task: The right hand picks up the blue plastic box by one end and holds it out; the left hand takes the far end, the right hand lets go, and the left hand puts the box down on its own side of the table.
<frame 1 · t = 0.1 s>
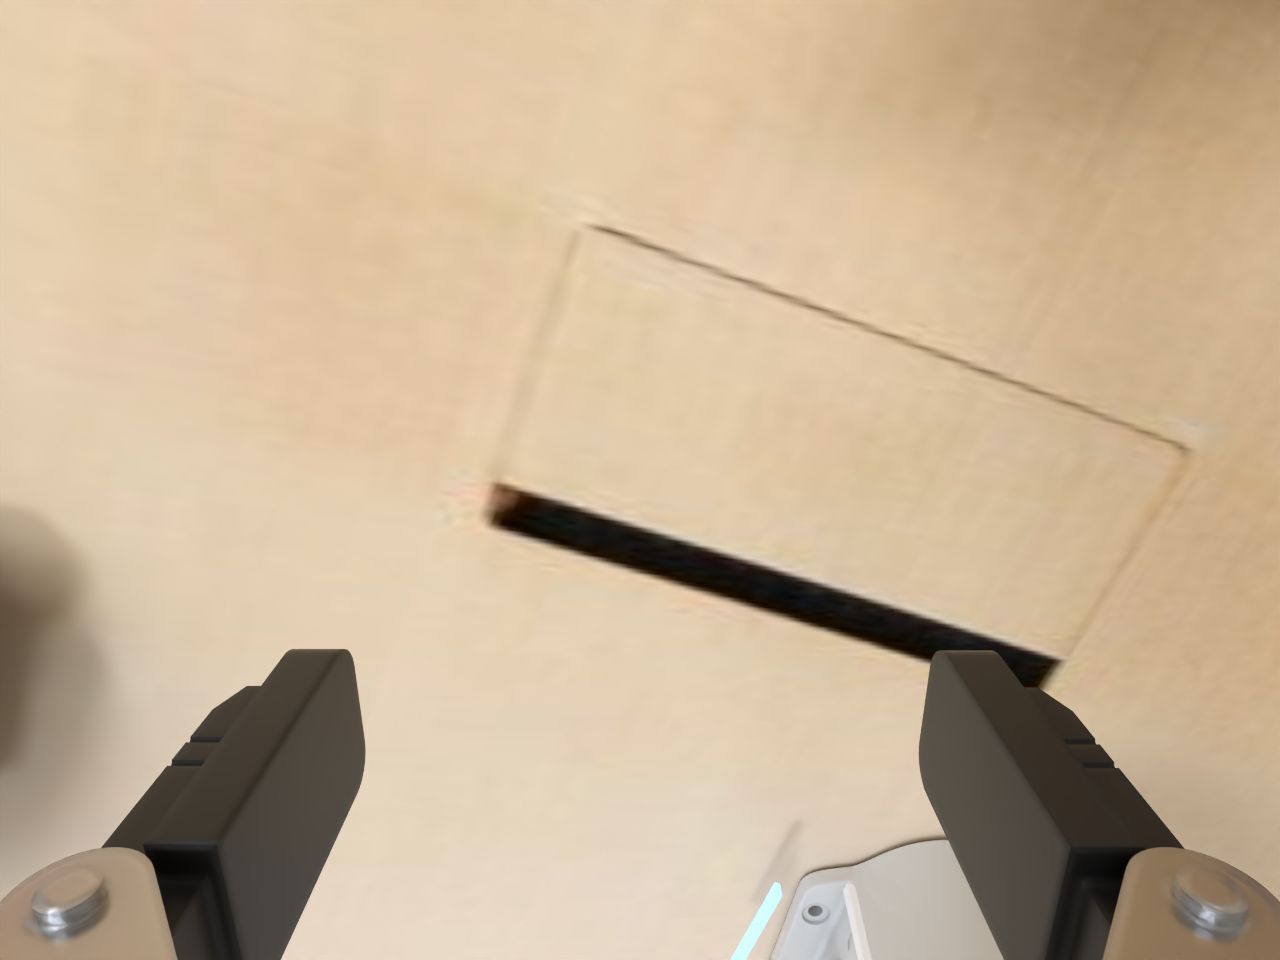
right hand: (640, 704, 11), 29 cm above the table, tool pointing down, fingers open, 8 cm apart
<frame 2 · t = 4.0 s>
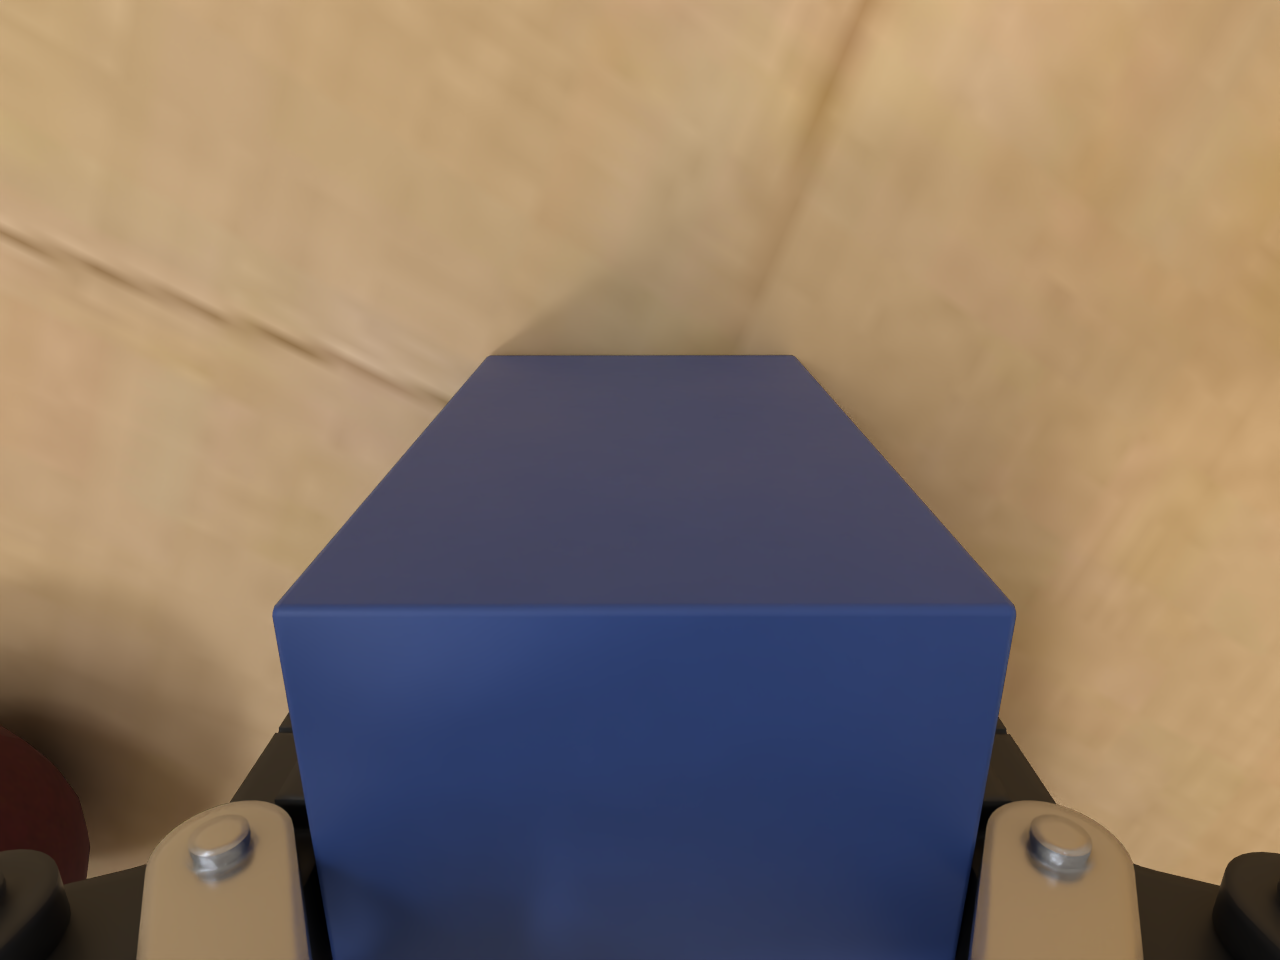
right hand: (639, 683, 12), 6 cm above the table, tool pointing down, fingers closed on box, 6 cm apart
box: (641, 842, 20), on the table, touching right hand
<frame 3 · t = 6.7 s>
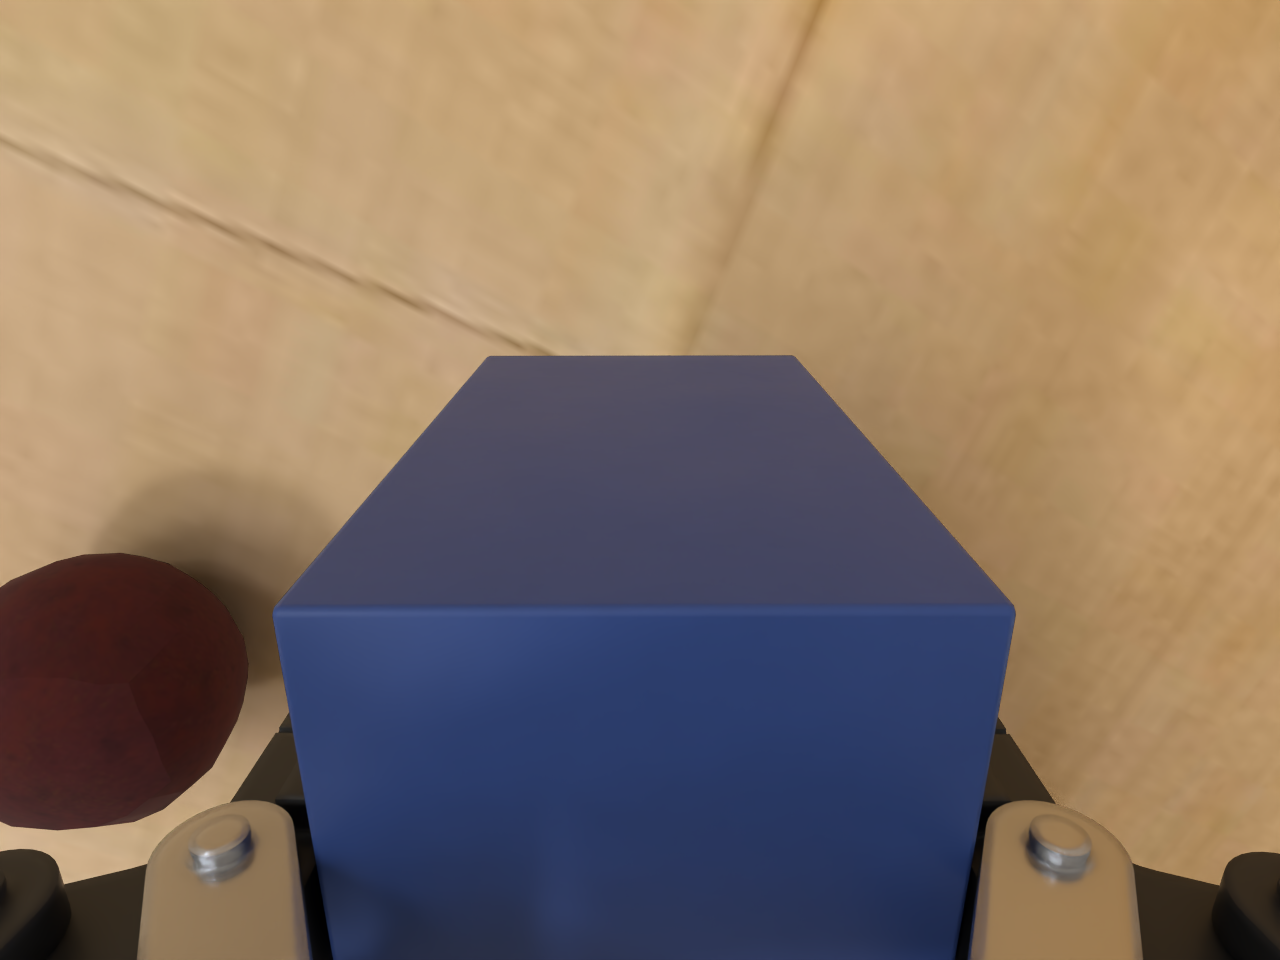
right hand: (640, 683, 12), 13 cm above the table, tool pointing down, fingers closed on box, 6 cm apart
dark red ball: (166, 621, 26), on the table
box: (641, 842, 20), point 7 cm above the table, touching right hand
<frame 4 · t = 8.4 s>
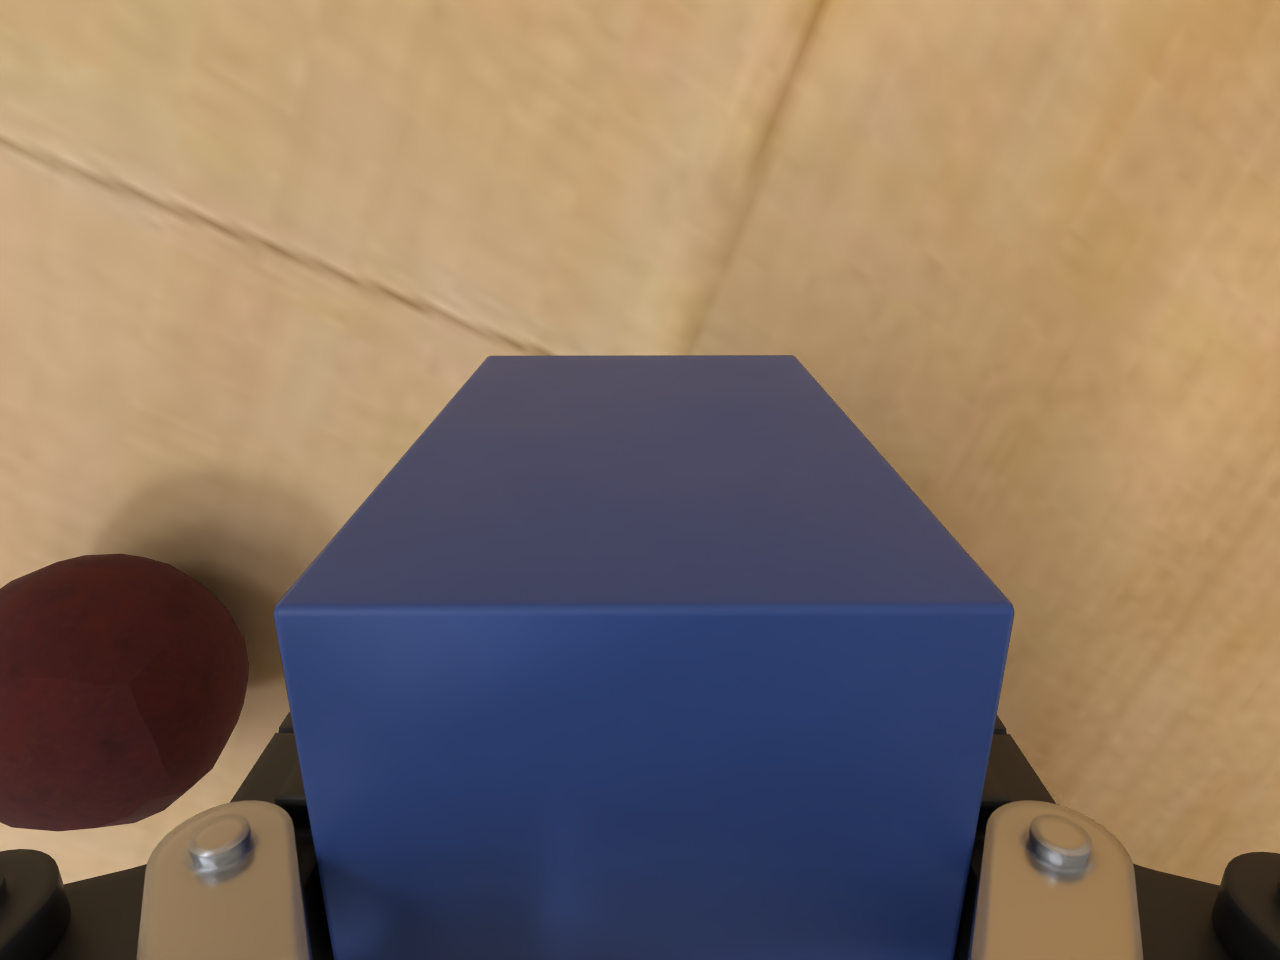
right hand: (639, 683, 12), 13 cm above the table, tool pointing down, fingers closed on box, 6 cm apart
dark red ball: (166, 622, 26), on the table
box: (641, 841, 20), point 7 cm above the table, touching right hand, left hand
when the right hand's fingers open (13 cm above the table, at t = 9.6 s): box moves 1 cm, held by the left hand.
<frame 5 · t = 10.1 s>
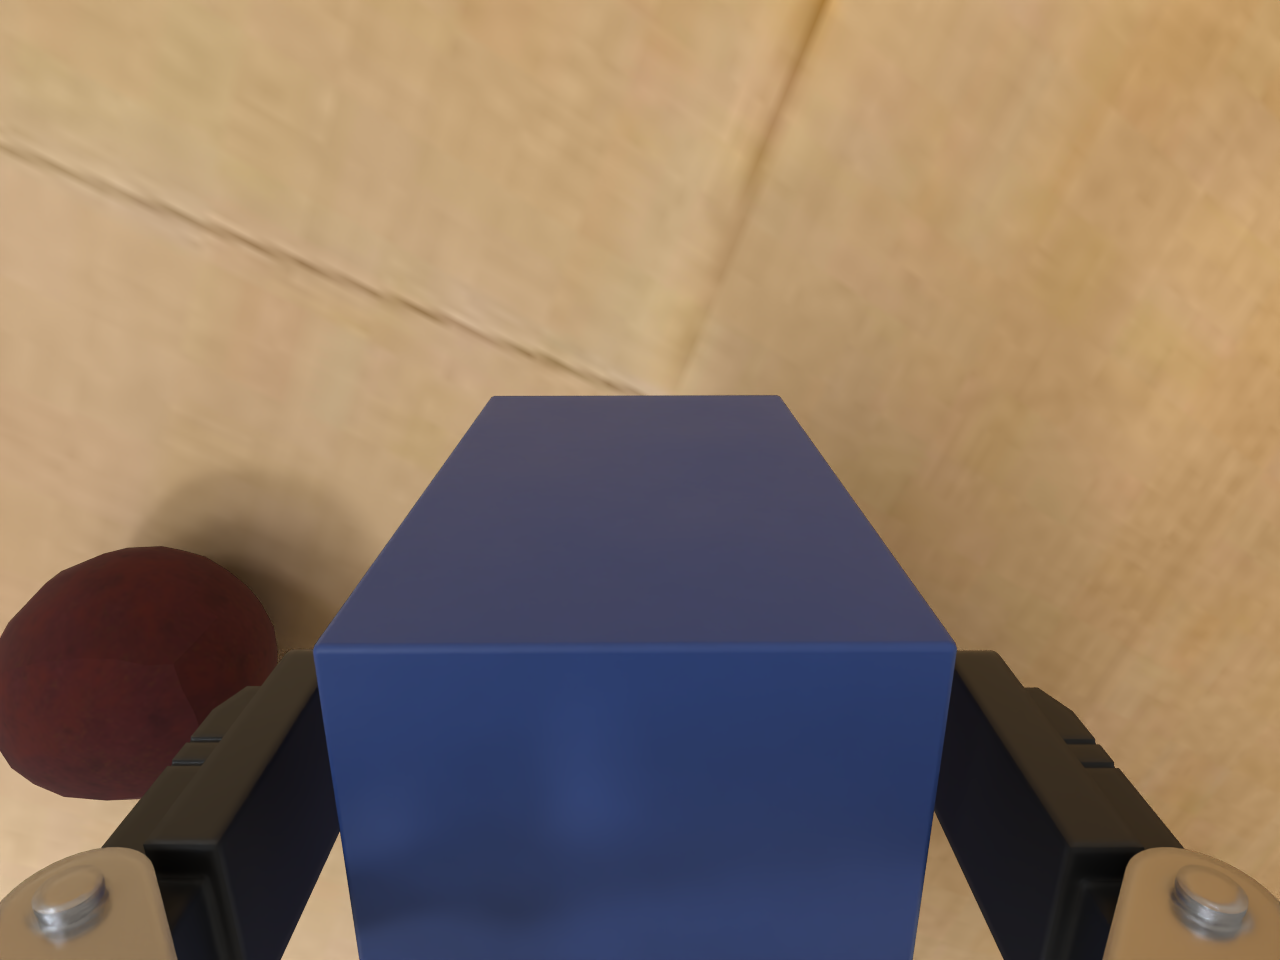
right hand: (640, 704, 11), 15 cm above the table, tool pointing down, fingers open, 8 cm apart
dark red ball: (199, 611, 28), on the table
box: (637, 855, 21), point 9 cm above the table, touching left hand
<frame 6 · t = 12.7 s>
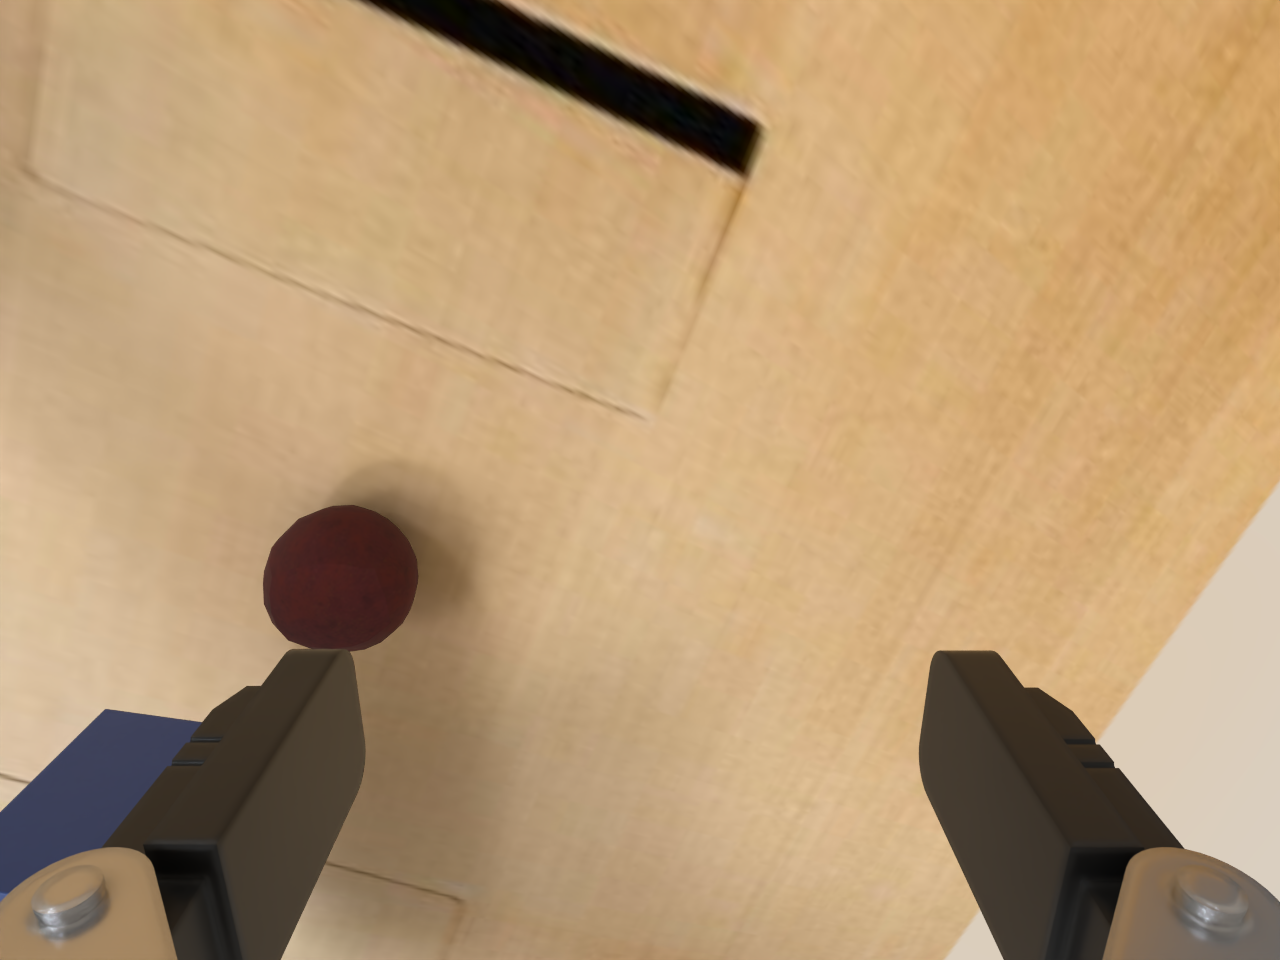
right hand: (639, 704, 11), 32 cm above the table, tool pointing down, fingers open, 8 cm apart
dark red ball: (363, 548, 46), on the table
box: (176, 915, 41), point 10 cm above the table, touching left hand
when the left hand's fingers open (6 cm above the table, at t = 17.0 s): box drops 1 cm, on the table.
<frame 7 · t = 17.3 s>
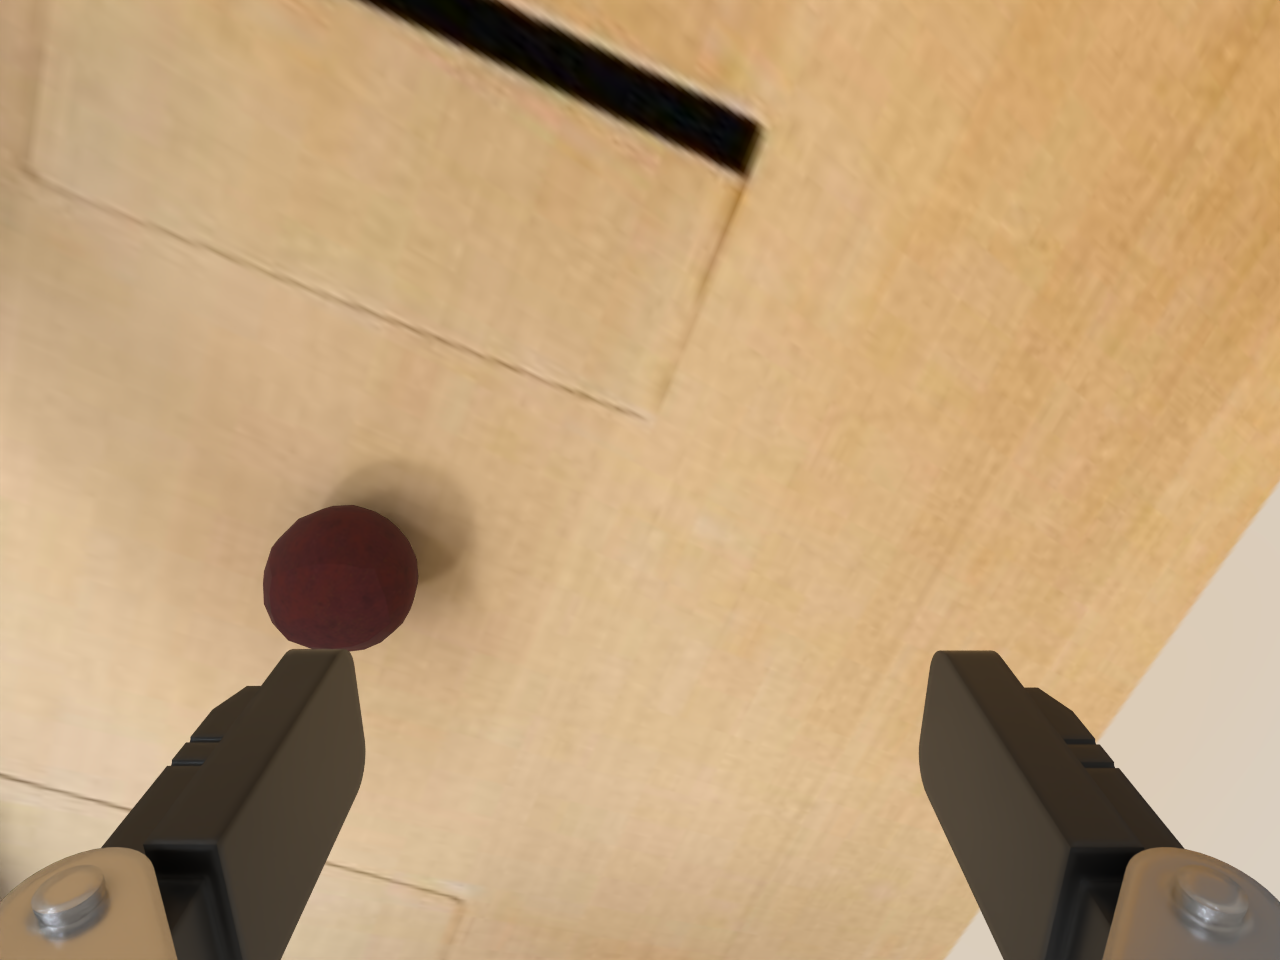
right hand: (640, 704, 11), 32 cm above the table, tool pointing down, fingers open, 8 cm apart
dark red ball: (363, 548, 46), on the table
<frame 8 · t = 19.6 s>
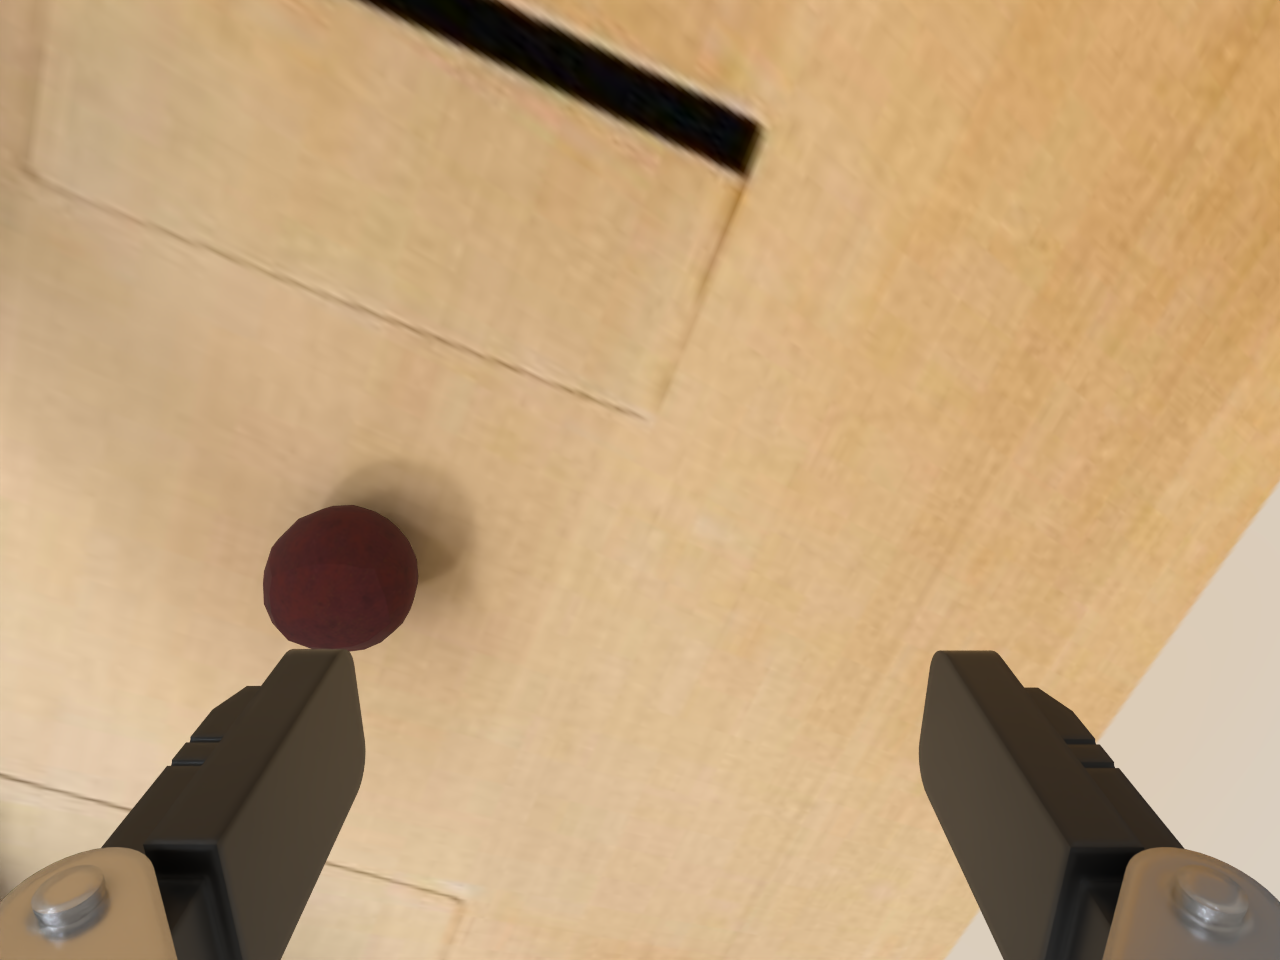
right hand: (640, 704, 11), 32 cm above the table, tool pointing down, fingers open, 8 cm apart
dark red ball: (363, 548, 46), on the table
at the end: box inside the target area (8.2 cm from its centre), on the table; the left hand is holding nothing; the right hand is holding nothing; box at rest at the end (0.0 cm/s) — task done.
